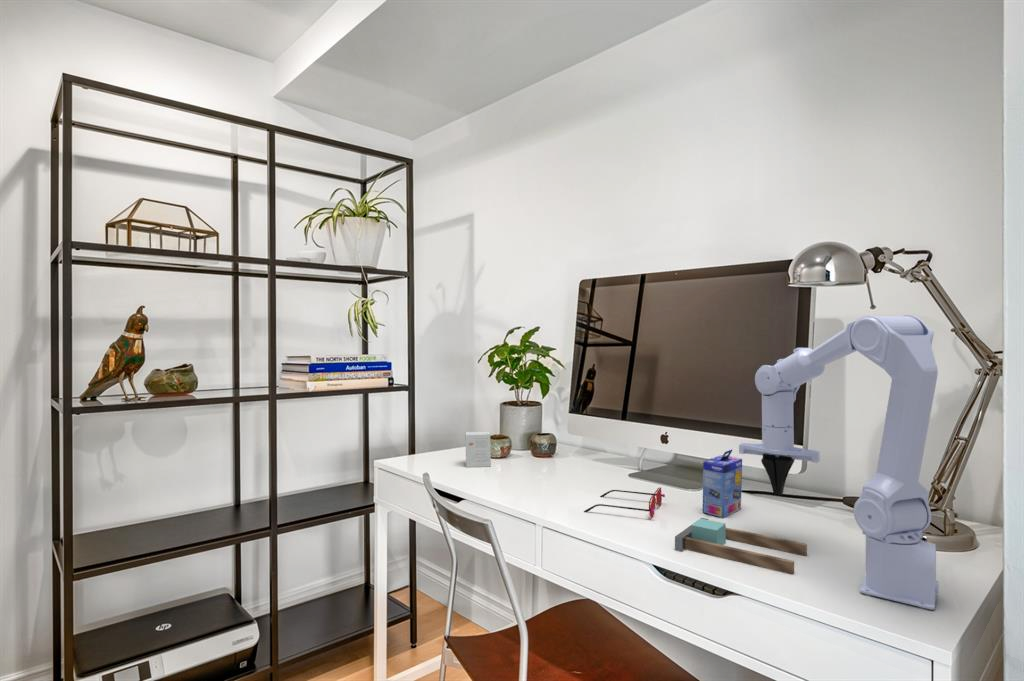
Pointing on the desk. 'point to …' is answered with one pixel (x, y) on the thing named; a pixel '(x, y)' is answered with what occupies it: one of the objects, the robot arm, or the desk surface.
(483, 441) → the small box
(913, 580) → the robot arm
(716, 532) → the block
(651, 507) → the glasses
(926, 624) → the desk surface
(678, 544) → the end stop
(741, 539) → the guide track
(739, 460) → the ink cartridge box
